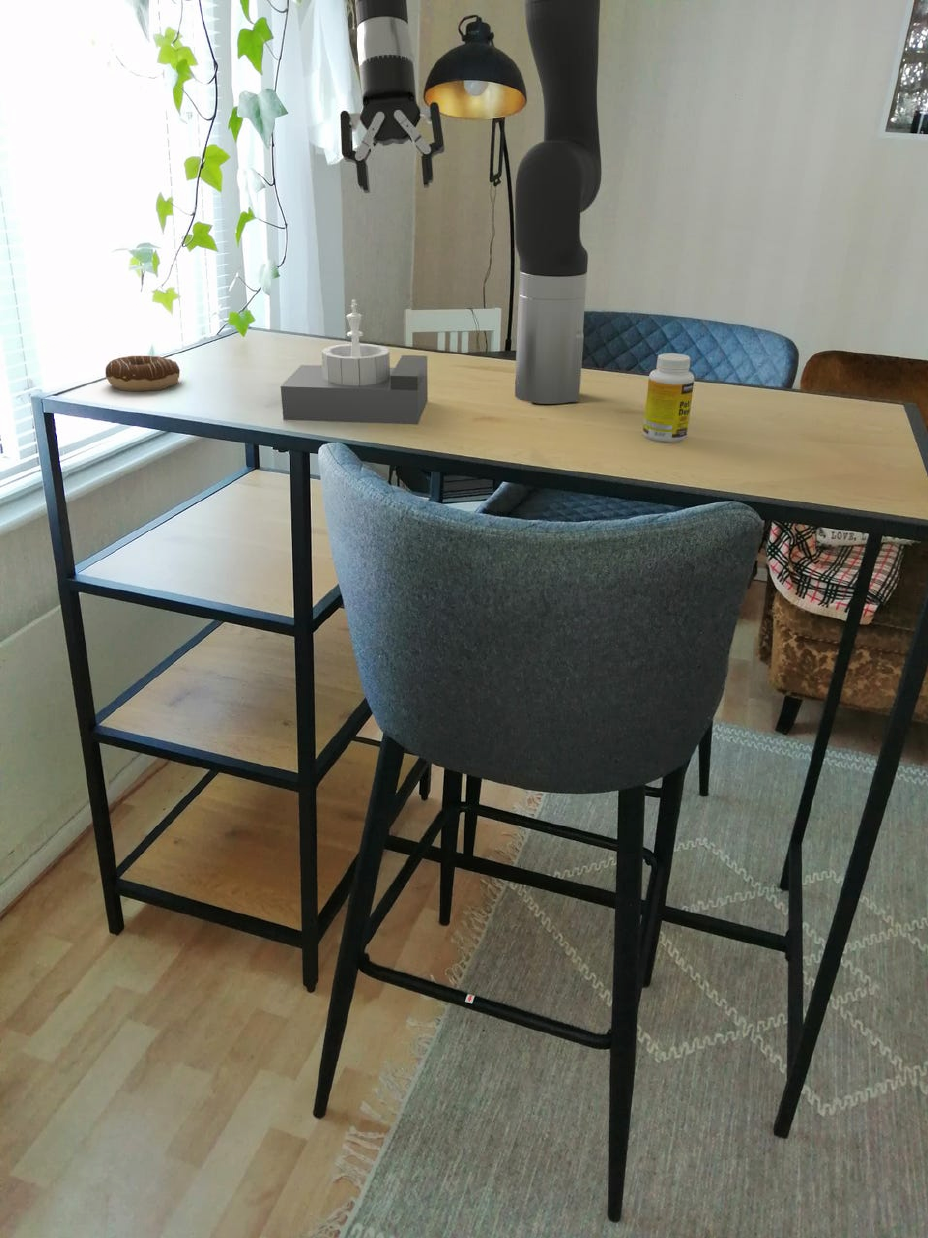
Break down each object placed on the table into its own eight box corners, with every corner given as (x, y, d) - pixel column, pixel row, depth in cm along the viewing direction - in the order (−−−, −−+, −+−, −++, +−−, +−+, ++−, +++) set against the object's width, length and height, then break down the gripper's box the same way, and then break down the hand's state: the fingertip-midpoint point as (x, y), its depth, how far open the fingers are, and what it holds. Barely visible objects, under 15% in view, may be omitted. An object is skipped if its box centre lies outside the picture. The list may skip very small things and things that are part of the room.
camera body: (427, 400, 133) (427, 343, 129) (417, 424, 122) (417, 363, 119) (303, 396, 134) (299, 339, 130) (283, 419, 123) (278, 358, 120)
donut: (95, 393, 135) (90, 365, 133) (123, 375, 144) (119, 349, 142) (167, 395, 134) (163, 368, 132) (191, 377, 143) (188, 351, 141)
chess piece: (378, 372, 128) (375, 297, 123) (371, 381, 124) (368, 303, 119) (342, 371, 129) (339, 296, 124) (334, 380, 124) (330, 302, 119)
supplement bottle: (679, 446, 115) (689, 363, 111) (636, 439, 118) (644, 357, 113) (692, 435, 120) (702, 354, 115) (650, 428, 122) (659, 349, 117)
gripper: (330, 57, 125) (342, 186, 128) (435, 47, 124) (445, 176, 127) (339, 79, 132) (351, 200, 135) (439, 69, 131) (448, 191, 134)
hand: (396, 188), depth 131 cm, fingers open, 8 cm apart
